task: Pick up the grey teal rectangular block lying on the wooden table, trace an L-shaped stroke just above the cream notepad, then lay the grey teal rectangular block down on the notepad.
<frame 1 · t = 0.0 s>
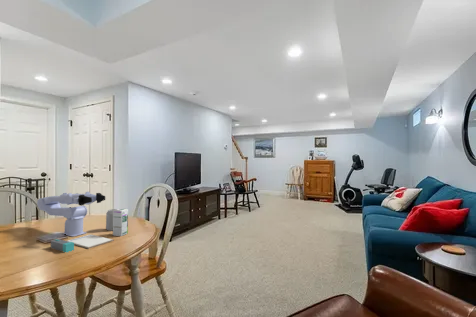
hand: (98, 198, 133), 22 cm above the table, tool horizontal, fingers open, 7 cm apart
syrup box: (120, 234, 142), on the table
grey teal rectangular block: (60, 248, 119), on the table
notepad: (89, 241, 129), on the table
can: (112, 229, 153), on the table
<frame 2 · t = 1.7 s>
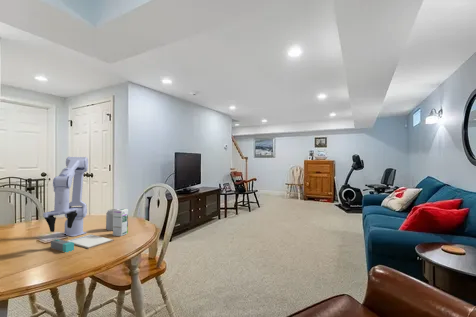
hand: (61, 229, 119), 9 cm above the table, tool pointing down, fingers open, 7 cm apart
nothing on the table moved.
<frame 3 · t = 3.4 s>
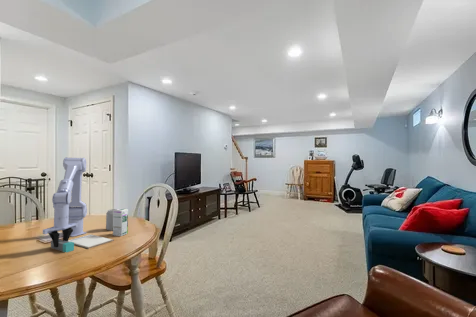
hand: (60, 245, 119), 1 cm above the table, tool pointing down, fingers closed on grey teal rectangular block, 3 cm apart
grey teal rectangular block: (60, 248, 119), on the table, touching gripper
everything else where it was.
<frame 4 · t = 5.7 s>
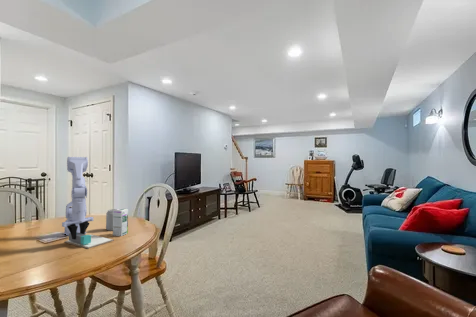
hand: (78, 237, 126), 3 cm above the table, tool pointing down, fingers closed on grey teal rectangular block, 3 cm apart
grey teal rectangular block: (78, 241, 126), point 1 cm above the table, touching gripper
everything else where it was.
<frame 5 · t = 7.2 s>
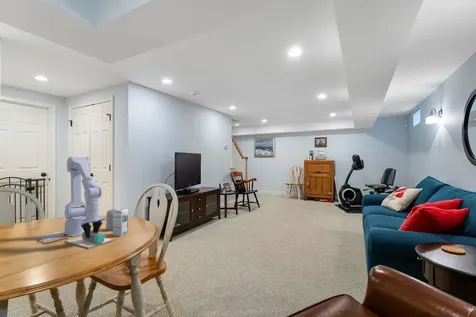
hand: (91, 236, 128), 3 cm above the table, tool pointing down, fingers closed on grey teal rectangular block, 3 cm apart
grey teal rectangular block: (91, 239, 128), point 1 cm above the table, touching gripper
everything else where it was.
when the fingers open (3 cm above the table, at t = 8.2 s): grey teal rectangular block stays where it is, resting on notepad.
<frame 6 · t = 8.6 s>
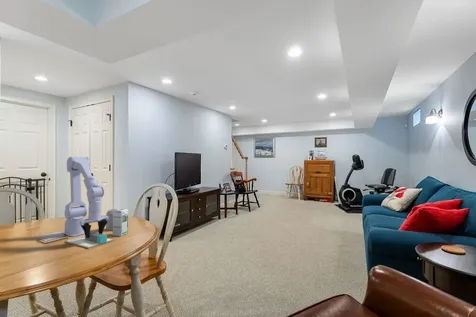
hand: (94, 236, 130), 3 cm above the table, tool pointing down, fingers open, 6 cm apart
grey teal rectangular block: (94, 240, 129), point 1 cm above the table, touching notepad
everything else where it was.
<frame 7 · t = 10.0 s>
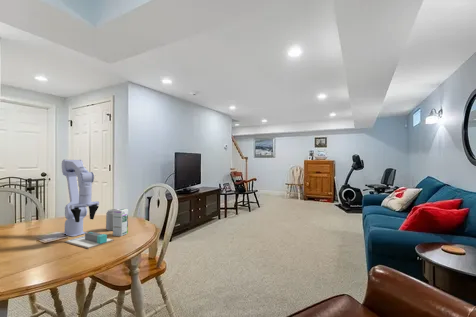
hand: (84, 220, 132), 10 cm above the table, tool pointing down, fingers open, 7 cm apart
nothing on the table moved.
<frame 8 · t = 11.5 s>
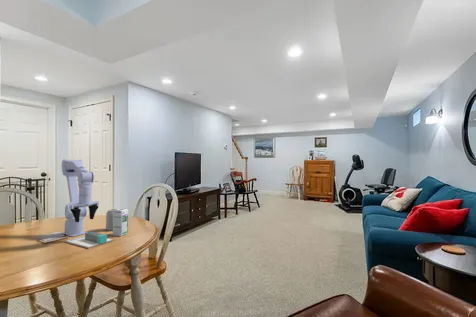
hand: (84, 220, 132), 10 cm above the table, tool pointing down, fingers open, 7 cm apart
nothing on the table moved.
at the end: grey teal rectangular block inside the target area (1.8 cm from its centre), point 0.7 cm above the table; the gripper is holding nothing; grey teal rectangular block moved 14.6 cm from its start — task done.
